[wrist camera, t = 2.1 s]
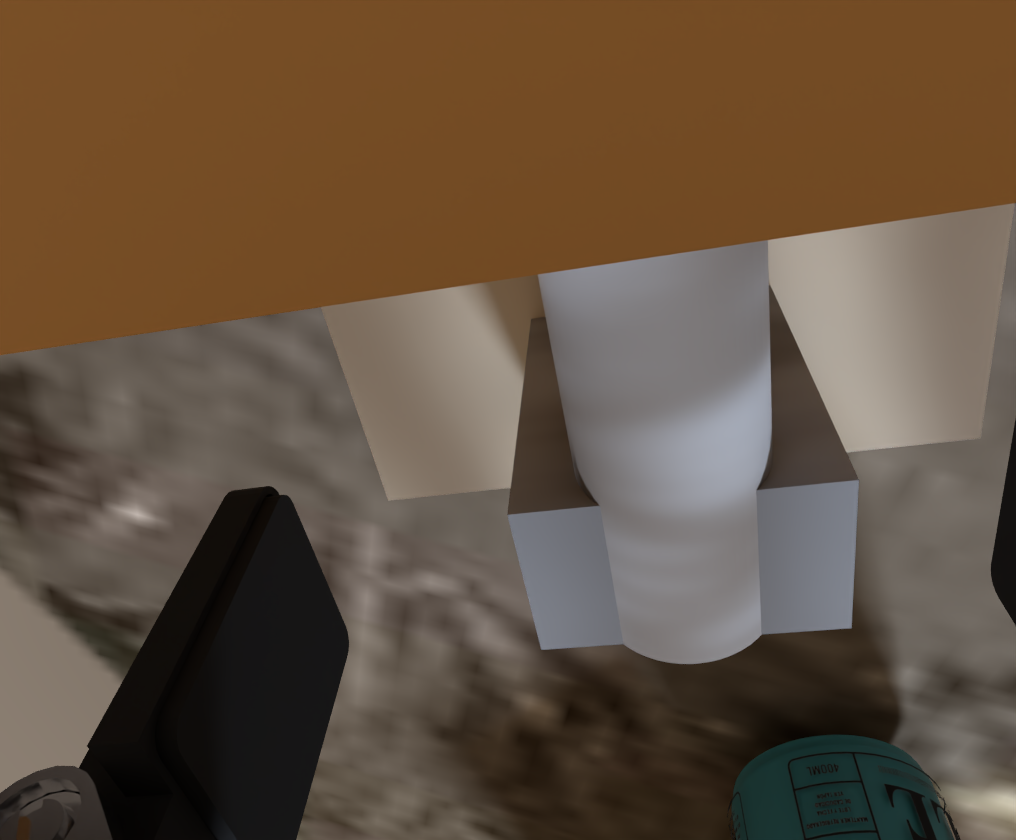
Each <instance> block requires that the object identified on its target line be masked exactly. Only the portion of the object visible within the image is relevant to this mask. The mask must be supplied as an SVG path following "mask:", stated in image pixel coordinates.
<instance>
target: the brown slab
mask: <svg viewBox="0 0 1016 840" xmlns="http://www.w3.org/2000/svg"><path fill="white" fill-rule="evenodd" d="M1012 203H1016V0H0V355H4V354H11V353H17V352H24V351H31V350H37V349H44V348H51V347H57V346H64V345H71V344H77V343H84V342H91V341H97V340H104V339H111V338H117V337H124V336H131V335H137V334H144V333H151V332H158V331H164V330H171V329H178V328H184V327H191V326H198V325H204V324H211V323H218V322H224V321H231V320H238V319H244V318H251V317H258V316H264V315H271V314H278V313H284V312H291V311H298V310H304V309H311V308H318V307H324V306H331V305H338V304H345V303H351V302H358V301H365V300H371V299H378V298H385V297H391V296H398V295H405V294H411V293H418V292H425V291H431V290H438V289H445V288H451V287H458V286H465V285H471V284H478V283H485V282H491V281H498V280H505V279H511V278H518V277H525V276H532V275H538V274H545V273H552V272H558V271H565V270H572V269H578V268H585V267H592V266H598V265H605V264H612V263H618V262H625V261H632V260H638V259H645V258H652V257H658V256H665V255H672V254H678V253H685V252H692V251H698V250H705V249H712V248H719V247H725V246H732V245H739V244H745V243H752V242H759V241H765V240H772V239H779V238H785V237H792V236H799V235H805V234H812V233H819V232H825V231H832V230H839V229H845V228H852V227H859V226H865V225H872V224H879V223H885V222H892V221H899V220H906V219H912V218H919V217H926V216H932V215H939V214H946V213H952V212H959V211H966V210H972V209H979V208H986V207H992V206H999V205H1006V204H1012Z"/></svg>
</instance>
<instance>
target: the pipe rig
mask: <svg viewBox="0 0 1016 840" xmlns="http://www.w3.org/2000/svg"><path fill="white" fill-rule="evenodd" d="M1014 205H1015V203H1012V204H1006V205H999V206H992V207H986V208H979V209H972V210H966V211H959V212H952V213H946V214H939V215H932V216H926V217H919V218H912V219H906V220H899V221H892V222H885V223H879V224H872V225H865V226H859V227H852V228H845V229H839V230H832V231H825V232H819V233H812V234H805V235H799V236H792V237H785V238H779V239H772V240H765V241H759V242H752V243H745V244H739V245H732V246H725V247H719V248H712V249H705V250H698V251H692V252H685V253H678V254H672V255H665V256H658V257H652V258H645V259H638V260H632V261H625V262H618V263H612V264H605V265H598V266H592V267H585V268H578V269H572V270H565V271H558V272H552V273H545V274H538V275H532V276H525V277H518V278H511V279H505V280H498V281H491V282H485V283H478V284H471V285H465V286H458V287H451V288H445V289H438V290H431V291H425V292H418V293H411V294H405V295H398V296H391V297H385V298H378V299H371V300H365V301H358V302H351V303H345V304H338V305H331V306H324V307H321V309H322V312H323V315H324V318H325V320H326V323H327V326H328V329H329V332H330V335H331V338H332V340H333V343H334V346H335V349H336V352H337V355H338V358H339V360H340V363H341V366H342V369H343V372H344V375H345V378H346V380H347V383H348V386H349V389H350V392H351V395H352V398H353V401H354V403H355V406H356V409H357V412H358V415H359V418H360V421H361V423H362V426H363V429H364V432H365V435H366V438H367V441H368V443H369V446H370V449H371V452H372V455H373V458H374V461H375V463H376V466H377V469H378V472H379V475H380V478H381V481H382V483H383V486H384V489H385V492H386V495H387V498H388V501H389V500H398V499H408V498H417V497H427V496H436V495H446V494H455V493H465V492H475V491H484V490H494V489H503V488H511V489H510V498H509V506H508V514H507V515H508V519H509V523H510V527H511V531H512V535H513V539H514V543H515V547H516V551H517V555H518V559H519V563H520V567H521V571H522V575H523V579H524V583H525V587H526V591H527V595H528V599H529V603H530V607H531V611H532V615H533V619H534V623H535V627H536V631H537V634H538V638H539V642H540V646H541V650H547V649H561V648H575V647H590V646H604V645H618V644H624V645H625V646H626V647H628V648H630V649H631V650H633V651H635V652H637V653H639V654H641V655H643V656H646V657H648V658H652V659H655V660H658V661H663V662H668V663H677V664H698V663H706V662H711V661H716V660H720V659H723V658H726V657H729V656H731V655H733V654H735V653H737V652H740V651H742V650H743V649H745V648H746V647H748V646H749V645H751V644H752V643H753V642H754V641H755V640H757V639H758V638H759V637H760V636H761V635H762V634H775V633H790V632H804V631H818V630H833V629H847V628H852V609H853V588H854V568H855V548H856V527H857V507H858V487H859V479H858V477H857V475H856V473H855V470H854V468H853V466H852V464H851V462H850V459H849V457H848V455H847V453H846V452H855V451H865V450H874V449H884V448H893V447H903V446H912V445H922V444H931V443H941V442H950V441H960V440H969V439H979V438H981V431H982V424H983V418H984V411H985V404H986V397H987V390H988V383H989V376H990V370H991V363H992V356H993V349H994V342H995V335H996V328H997V322H998V315H999V308H1000V301H1001V294H1002V287H1003V280H1004V273H1005V267H1006V260H1007V253H1008V246H1009V239H1010V232H1011V225H1012V219H1013V212H1014Z"/></svg>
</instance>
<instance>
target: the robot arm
mask: <svg viewBox="0 0 1016 840" xmlns="http://www.w3.org/2000/svg"><path fill="white" fill-rule="evenodd" d="M991 577H992V582H993V586H994V588H995V591H996V593H997V595H998V597H999V599H1000V600H1001V602H1002V604H1003V605H1004V607H1005V609H1006V610H1007V612H1008V614H1009V615H1010V617H1011V618H1012V620H1013V622H1014V623H1015V625H1016V420H1015V426H1014V432H1013V438H1012V444H1011V450H1010V456H1009V462H1008V468H1007V473H1006V479H1005V485H1004V491H1003V497H1002V503H1001V509H1000V515H999V521H998V527H997V533H996V539H995V545H994V551H993V557H992V562H991ZM348 649H349V639H348V632H347V629H346V626H345V623H344V621H343V619H342V616H341V614H340V612H339V609H338V607H337V605H336V602H335V600H334V598H333V595H332V593H331V591H330V588H329V586H328V584H327V581H326V579H325V577H324V574H323V572H322V570H321V567H320V565H319V563H318V560H317V558H316V556H315V553H314V551H313V549H312V546H311V544H310V542H309V539H308V537H307V535H306V532H305V530H304V528H303V525H302V523H301V521H300V518H299V516H298V514H297V511H296V509H295V507H294V504H293V502H292V501H291V499H290V498H289V497H288V496H287V495H279V493H278V492H277V490H275V489H274V488H273V487H270V486H266V487H258V488H250V489H242V490H234V491H231V492H229V493H228V494H227V495H226V496H225V497H224V499H223V501H222V503H221V505H220V507H219V508H218V510H217V512H216V514H215V516H214V517H213V519H212V521H211V523H210V525H209V526H208V528H207V530H206V532H205V534H204V535H203V537H202V539H201V541H200V543H199V545H198V546H197V548H196V550H195V552H194V554H193V555H192V557H191V559H190V561H189V563H188V564H187V566H186V568H185V570H184V572H183V573H182V575H181V577H180V579H179V581H178V582H177V584H176V586H175V588H174V590H173V592H172V593H171V595H170V597H169V599H168V601H167V602H166V604H165V606H164V608H163V610H162V611H161V613H160V615H159V617H158V619H157V620H156V622H155V624H154V626H153V628H152V629H151V631H150V633H149V635H148V637H147V639H146V640H145V642H144V644H143V646H142V648H141V649H140V651H139V653H138V655H137V657H136V658H135V660H134V662H133V664H132V666H131V667H130V669H129V671H128V673H127V675H126V677H125V678H124V680H123V682H122V684H121V686H120V688H119V689H118V691H117V693H116V695H115V696H114V698H113V700H112V702H111V704H110V705H109V707H108V709H107V711H106V713H105V714H104V716H103V718H102V720H101V722H100V724H99V725H98V727H97V729H96V731H95V733H94V734H93V736H92V738H91V740H90V742H89V743H88V745H87V746H88V748H89V750H88V752H87V754H86V756H85V758H84V759H83V761H82V763H81V765H80V767H79V768H77V767H75V766H54V767H51V768H47V769H43V770H40V771H37V772H35V773H32V774H30V775H28V776H27V777H24V778H23V779H20V780H18V781H17V782H15V783H13V784H12V785H11V786H9V787H8V788H7V789H5V790H4V791H3V792H1V793H0V840H296V838H297V834H298V831H299V827H300V824H301V820H302V816H303V813H304V809H305V806H306V802H307V799H308V795H309V791H310V788H311V784H312V781H313V777H314V773H315V770H316V766H317V763H318V759H319V756H320V752H321V748H322V745H323V741H324V738H325V734H326V731H327V727H328V723H329V720H330V716H331V713H332V709H333V706H334V702H335V698H336V695H337V691H338V688H339V684H340V680H341V677H342V673H343V670H344V666H345V663H346V659H347V655H348Z"/></svg>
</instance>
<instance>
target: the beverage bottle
mask: <svg viewBox="0 0 1016 840" xmlns="http://www.w3.org/2000/svg"><path fill="white" fill-rule="evenodd" d="M928 777H929V776H928V775H927V774H926V773H925V772H924V771H923V770H922V769H921V767H920V766H919V765H918V763H917V762H916V761H915V760H914V759H913V758H912V757H911V756H910V755H908V754H907V753H906V752H904V751H903V750H901V749H899V748H897V747H896V746H893V745H891V744H888V743H886V742H883V741H880V740H876V739H873V738H868V737H863V736H854V735H822V736H813V737H807V738H802V739H797V740H793V741H790V742H786V743H784V744H781V745H778V746H776V747H774V748H771V749H769V750H767V751H765V752H764V753H762V754H760V755H759V756H757V757H756V758H754V759H753V760H752V761H750V762H749V763H748V764H747V765H746V766H745V767H744V769H743V770H742V771H741V772H740V774H739V776H738V778H737V780H736V782H735V786H734V790H733V798H732V800H731V802H730V805H731V803H732V816H731V819H730V821H731V820H732V817H733V823H734V826H733V825H732V827H733V828H734V829H735V831H734V832H735V835H736V838H735V836H734V835H733V833H732V831H731V829H730V831H731V835H733V837H734V838H735V840H954V838H953V835H952V833H951V830H950V828H949V825H948V823H947V820H946V818H945V815H944V814H945V813H946V815H947V817H948V820H949V823H950V825H951V828H952V830H953V833H954V835H955V838H956V840H959V839H960V837H959V835H957V834H958V832H957V830H955V828H954V825H953V823H952V821H953V820H952V818H951V816H950V815H949V814H950V813H949V814H948V813H947V812H946V811H945V805H946V804H945V800H944V799H943V798H944V797H943V798H942V797H941V796H939V795H938V794H936V792H935V791H936V790H935V789H934V787H933V785H932V782H931V780H932V779H931V778H930V777H929V778H930V779H931V780H930V779H929V778H928ZM932 781H933V780H932ZM933 782H934V781H933ZM934 783H935V782H934ZM935 784H936V783H935ZM936 785H937V784H936ZM937 786H938V785H937ZM938 788H939V787H938ZM939 789H940V788H939ZM940 791H941V790H940ZM937 793H939V792H937ZM937 796H939V797H940V798H941V799H943V800H944V809H943V808H942V807H941V805H940V802H939V800H938V797H937ZM730 805H729V808H730ZM946 806H947V805H946ZM729 808H728V811H729ZM943 811H944V813H943ZM727 817H728V816H727ZM729 828H730V827H729ZM730 837H732V836H730ZM733 837H732V838H733ZM958 837H959V838H958ZM734 838H733V839H732V840H734Z"/></svg>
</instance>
